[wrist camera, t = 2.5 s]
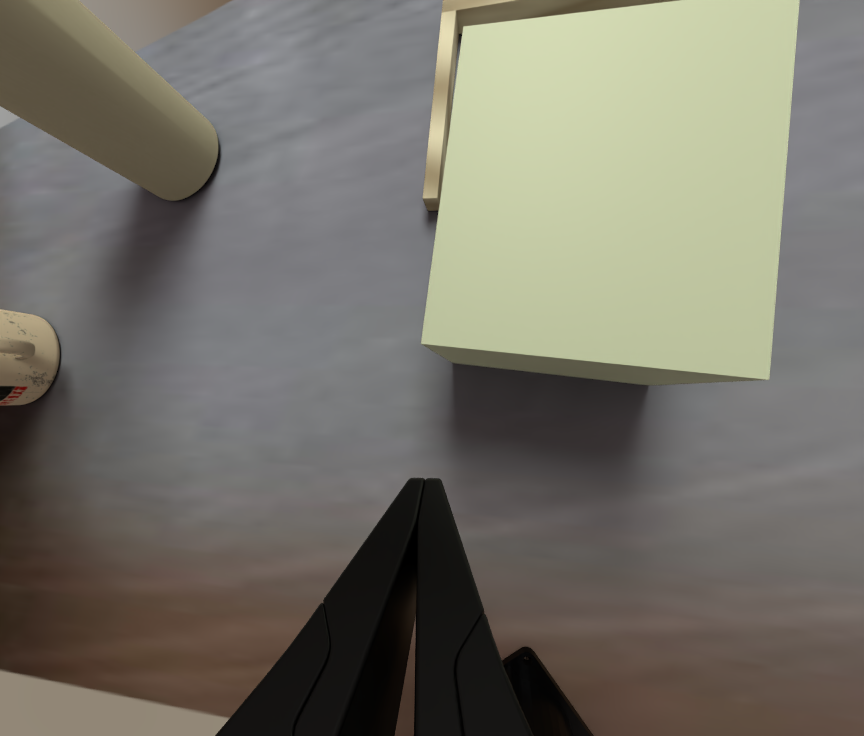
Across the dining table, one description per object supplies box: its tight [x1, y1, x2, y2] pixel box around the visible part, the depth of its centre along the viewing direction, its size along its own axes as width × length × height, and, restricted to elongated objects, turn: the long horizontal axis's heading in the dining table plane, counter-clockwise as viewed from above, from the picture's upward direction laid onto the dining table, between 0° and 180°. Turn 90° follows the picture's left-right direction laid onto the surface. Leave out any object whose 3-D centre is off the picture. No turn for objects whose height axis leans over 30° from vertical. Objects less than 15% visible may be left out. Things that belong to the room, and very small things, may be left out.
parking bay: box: [423, 0, 679, 211], centre depth 21 cm, size 14×18×2 cm
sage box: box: [421, 0, 799, 385], centre depth 17 cm, size 14×12×9 cm
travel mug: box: [0, 0, 218, 201], centre depth 19 cm, size 8×8×18 cm
